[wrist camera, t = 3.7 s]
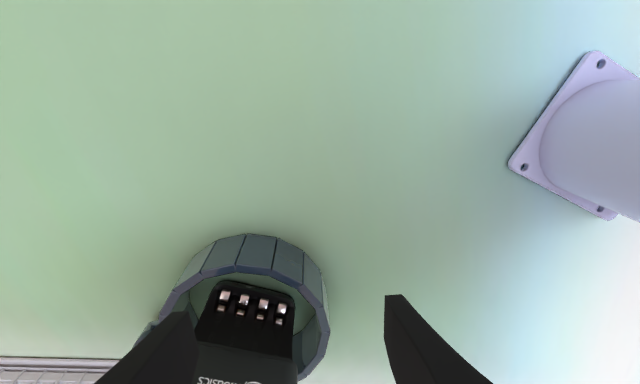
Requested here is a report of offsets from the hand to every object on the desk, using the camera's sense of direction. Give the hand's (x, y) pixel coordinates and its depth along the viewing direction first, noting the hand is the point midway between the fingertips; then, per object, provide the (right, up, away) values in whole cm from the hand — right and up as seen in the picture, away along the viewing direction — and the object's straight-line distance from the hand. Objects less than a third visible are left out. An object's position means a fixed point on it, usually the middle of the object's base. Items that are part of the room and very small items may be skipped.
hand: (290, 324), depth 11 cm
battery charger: (-4, -3, +12) cm, 13 cm away
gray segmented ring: (-5, -4, +12) cm, 14 cm away
